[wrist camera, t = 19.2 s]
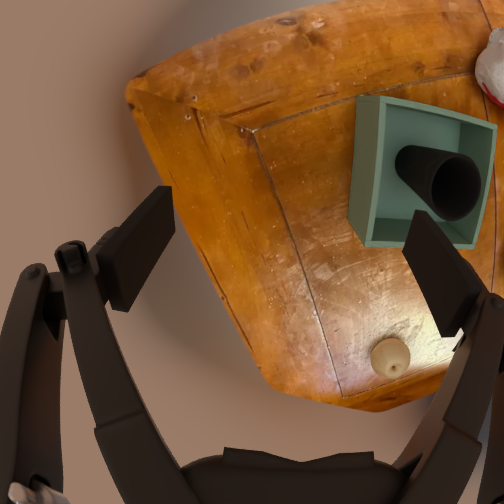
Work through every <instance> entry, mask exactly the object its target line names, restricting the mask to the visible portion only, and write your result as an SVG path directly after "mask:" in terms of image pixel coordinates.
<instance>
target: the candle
mask: <svg viewBox="0 0 504 504" xmlns="http://www.w3.org/2000/svg"><path fill="white" fill-rule="evenodd" d="M494 30H495V31H492V33H491V34H490V36H489V42H488V45H487V48H485V49H484V50H483V51H482V53H481V54H480V55H479V57H478V59H477V61H476V67H475V76H476V81H477V83H478V85H479V87H480V88H481V89H482V91H483V92H484V93H485V94H487V95H488V96H489V98H490V100H491V101H492V102H494V103H496V104H497V105H498V106H500V107H501V108H503V110H504V28H503V27H502V28H501V29H500V28H498V30H497V29H496V28H494Z"/></svg>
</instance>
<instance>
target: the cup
mask: <svg viewBox="0 0 504 504" xmlns="http://www.w3.org/2000/svg"><path fill="white" fill-rule="evenodd" d="M395 170H396V173H397V175H398V176H399V177H400V178H401V180H403V181H404V182H405V183H406V184H407V185H408V186H409V187H410V188H411V189H412V190H413V191H414V192H415V193H416V194H417V195H418V196H419V197H420V198H421V199H422V200H423V201H424V202H425V203H426V204H427V205H428V206H429V207H430V208H431V210H432V211H433V212H434V213H435V214H436V215H437V216H439V217H440V218H441V219H443V220H446V221H457V220H460V219H462V218H464V217H465V216H467V215H468V214H469V213H470V212H471V211H472V210H473V208H474V207H475V205H476V203H477V201H478V199H479V195H480V192H481V176H480V172H479V169H478V167H477V166H476V164H475V162H474V161H473V160H472V159H471V158H470V157H468V156H466V155H464V154H460V153H455V152H450V151H445V150H440V149H435V148H429V147H423V146H417V145H407V146H405V147H403V148H402V149H401V150H400V151H399V152H398V154H397V156H396V158H395Z"/></svg>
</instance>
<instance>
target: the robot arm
mask: <svg viewBox="0 0 504 504" xmlns="http://www.w3.org/2000/svg"><path fill="white" fill-rule="evenodd" d="M174 233H175V221H174V211H173V198H172V186H158V187H157V188H156V189H155V190H154V191H153V192H152V193H151V194H150V195H149V196H148V197H147V198H146V199H145V200H144V201H143V202H142V203H141V204H140V205H139V206H138V207H137V208H136V209H135V210H134V211H133V213H132V214H131V215H130V216H129V217H128V218H127V219H126V220H125V221H124V222H123V223H122V225H121V226H120V227H114V228H112V229H111V230H109V231H107V232H106V233H105V234H104V235H103V236H102V237H101V239H99V241H98V242H97V243H96V244H95V245H94V246H93V247H92V248H91V250H90V251H89V252H88V253H87V250H86V246H85V244H84V242H82V241H78V240H74V241H69V242H66V243H64V244H62V245H61V246H59V247H58V248H57V249H56V251H55V254H54V255H55V258H56V261H57V264H58V267H59V270H60V272H52V273H48V271H47V268H46V266H45V265H44V264H41V263H36V264H32V265H30V266H28V267H26V268H25V269H24V270H23V272H22V273H21V274H20V277H19V280H18V282H17V285H16V287H15V290H14V293H13V296H12V299H11V302H10V305H9V308H8V311H7V314H6V317H5V321H4V324H3V327H2V331H1V335H0V504H70V503H69V501H68V500H67V498H66V497H65V496H64V495H63V465H62V451H61V434H60V379H61V377H60V376H61V361H62V360H61V359H62V348H63V338H64V328H65V320H67V319H68V324H69V328H70V334H71V339H72V343H73V348H74V352H75V356H76V360H77V364H78V368H79V371H80V375H81V379H82V382H83V385H84V389H85V392H86V396H87V399H88V402H89V405H90V408H91V411H92V414H93V417H94V420H95V423H96V428H94V433H95V437H96V440H97V443H98V445H99V448H100V450H101V453H102V455H103V458H104V460H105V462H106V465H107V467H108V469H109V471H110V474H111V476H112V478H113V480H114V482H115V485H116V486H117V489H118V491H119V493H120V495H121V497H122V499H123V501H124V502H125V504H457V502H458V501H459V499H460V497H461V495H462V493H463V491H464V489H465V487H466V485H467V483H468V481H469V479H470V476H471V474H472V472H473V470H474V467H475V465H476V463H477V460H478V458H479V455H480V453H481V449H482V443H480V442H479V441H477V438H478V435H479V432H480V430H481V427H482V424H483V421H484V419H485V415H486V413H487V410H488V406H489V403H490V400H491V396H492V412H491V422H490V432H489V440H488V447H487V453H486V459H485V465H484V470H483V475H482V479H481V484H480V489H479V494H478V498H477V504H504V299H503V298H502V297H501V296H499V295H497V294H495V293H489V291H488V290H487V288H486V286H485V285H484V283H483V282H482V280H481V279H480V278H479V276H478V274H477V273H476V272H475V270H474V269H473V267H472V266H471V264H470V263H469V262H468V261H466V260H465V259H464V258H463V257H462V256H461V255H460V254H459V252H458V251H457V249H456V248H455V247H454V245H453V244H452V243H451V241H450V240H449V239H448V237H447V236H446V235H445V233H444V232H443V231H442V230H441V228H440V227H439V226H438V225H437V223H436V222H435V221H434V220H433V218H432V217H431V216H430V215H429V213H428V212H427V211H423V210H417V209H415V211H414V215H413V218H412V222H411V225H410V228H409V232H408V235H407V238H406V241H405V244H404V247H403V250H402V253H403V255H404V256H405V258H406V260H407V262H408V264H409V266H410V268H411V270H412V272H413V274H414V276H415V279H416V281H417V283H418V285H419V287H420V289H421V291H422V293H423V296H424V298H425V300H426V302H427V304H428V307H429V309H430V311H431V314H432V316H433V318H434V321H435V323H436V325H437V328H438V330H439V333H440V335H441V337H455V336H456V334H457V332H458V331H459V329H460V328H462V330H463V332H464V334H463V336H462V337H461V339H460V340H459V342H458V343H457V345H456V346H455V348H454V349H453V350H452V351H453V352H455V353H454V356H453V358H452V360H451V363H450V365H449V367H448V369H447V372H446V374H445V376H444V378H443V380H442V382H441V385H440V387H439V389H438V391H437V393H436V395H435V397H434V399H433V401H432V403H431V404H430V406H429V408H428V410H427V412H426V414H425V416H424V417H423V419H422V421H421V423H420V425H419V426H418V428H417V430H416V431H415V433H414V435H413V436H412V438H411V440H410V441H409V443H408V444H407V446H406V447H405V449H404V451H403V452H402V454H401V455H400V456H399V457H398V459H397V460H396V461H395V462H394V463H393V464H392V465H389V464H387V463H385V462H382V461H378V460H374V452H373V451H371V452H357V453H339V454H335V455H331V456H328V457H323V458H319V459H315V460H311V461H306V462H298V461H294V460H290V459H286V458H283V457H279V456H276V455H272V454H269V453H266V452H263V451H254V450H244V449H235V448H227V447H224V452H223V455H214V456H209V457H205V458H201V459H198V460H196V461H193V462H191V463H189V464H187V465H185V466H183V467H182V468H180V466H179V464H178V463H177V461H176V460H175V458H174V456H173V455H172V453H171V451H170V450H169V448H168V446H167V445H166V443H165V441H164V439H163V438H162V436H161V434H160V432H159V430H158V428H157V426H156V424H155V423H154V421H153V419H152V417H151V415H150V413H149V411H148V409H147V407H146V405H145V403H144V401H143V399H142V397H141V395H140V393H139V390H138V388H137V386H136V384H135V382H134V379H133V377H132V375H131V373H130V370H129V368H128V366H127V363H126V361H125V359H124V356H123V354H122V351H121V349H120V346H119V344H118V341H117V339H116V336H115V334H114V331H113V328H112V325H111V323H110V320H109V317H108V315H107V311H106V309H105V304H106V303H107V301H108V300H109V301H110V304H111V307H112V310H117V311H122V312H129V310H130V308H131V306H132V304H133V303H134V301H135V299H136V297H137V295H138V294H139V292H140V290H141V288H142V286H143V285H144V283H145V281H146V280H147V278H148V276H149V274H150V273H151V271H152V269H153V268H154V266H155V264H156V263H157V261H158V259H159V257H160V256H161V254H162V252H163V251H164V249H165V248H166V246H167V244H168V243H169V241H170V239H171V238H172V236H173V235H174ZM455 350H456V351H455ZM492 393H493V394H492Z"/></svg>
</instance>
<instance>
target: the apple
mask: <svg viewBox="0 0 504 504" xmlns="http://www.w3.org/2000/svg"><path fill="white" fill-rule="evenodd" d="M409 364H410V351H409V348H408V347H407V345H406V344H405V343H404V342H402V341H401V340H399V339H396V338H388V339H385V340H383V341H381V342H380V343H378V344H377V345H376V346H375V348H374V349H373V351H372V354H371V365H372V368H373V370H374V371H375V372H376V373H377V374H378V375H379V376H381V377H383V378H388V379H394V378H397V377H399V376H401V375H402V374H403V373H404V372H405V371H406V370H407V368H408V366H409Z"/></svg>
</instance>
